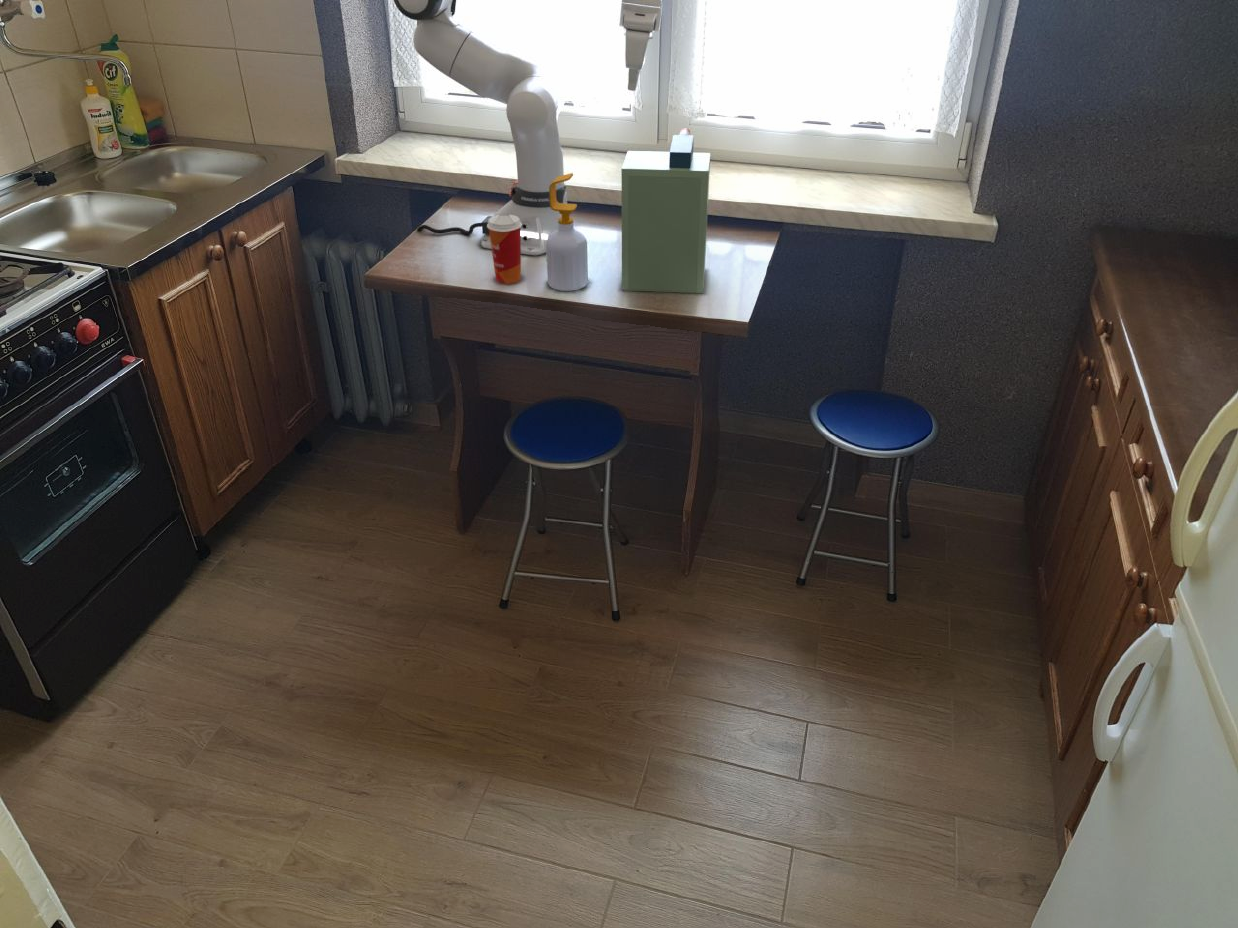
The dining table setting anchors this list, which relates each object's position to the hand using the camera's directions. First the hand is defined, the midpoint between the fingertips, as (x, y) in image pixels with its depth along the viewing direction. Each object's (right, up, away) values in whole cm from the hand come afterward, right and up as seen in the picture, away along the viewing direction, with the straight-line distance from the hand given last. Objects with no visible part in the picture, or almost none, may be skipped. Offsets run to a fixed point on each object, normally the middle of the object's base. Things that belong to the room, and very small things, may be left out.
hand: (632, 88), depth 212 cm
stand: (+7, -41, +5) cm, 42 cm away
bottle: (+11, -16, -6) cm, 20 cm away
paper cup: (-28, -41, +6) cm, 50 cm away
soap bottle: (-14, -43, +4) cm, 45 cm away
